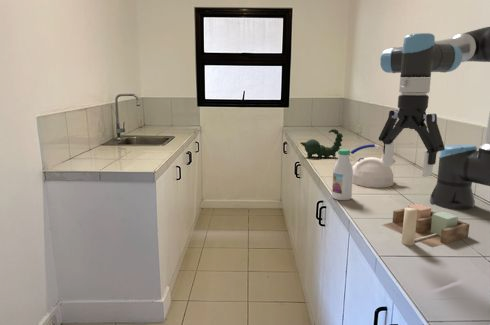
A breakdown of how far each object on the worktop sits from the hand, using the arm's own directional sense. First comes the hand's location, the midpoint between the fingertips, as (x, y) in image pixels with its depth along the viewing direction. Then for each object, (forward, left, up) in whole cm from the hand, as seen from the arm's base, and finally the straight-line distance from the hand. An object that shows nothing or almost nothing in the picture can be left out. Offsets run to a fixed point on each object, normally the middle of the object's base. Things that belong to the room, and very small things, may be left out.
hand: (406, 170), depth 106 cm
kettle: (-44, -55, -23) cm, 74 cm away
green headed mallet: (-10, +2, -22) cm, 24 cm away
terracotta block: (-17, -7, -22) cm, 28 cm away
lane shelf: (-14, -3, -22) cm, 26 cm away
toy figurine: (-58, -112, -23) cm, 128 cm away
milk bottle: (-15, -42, -23) cm, 50 cm away
